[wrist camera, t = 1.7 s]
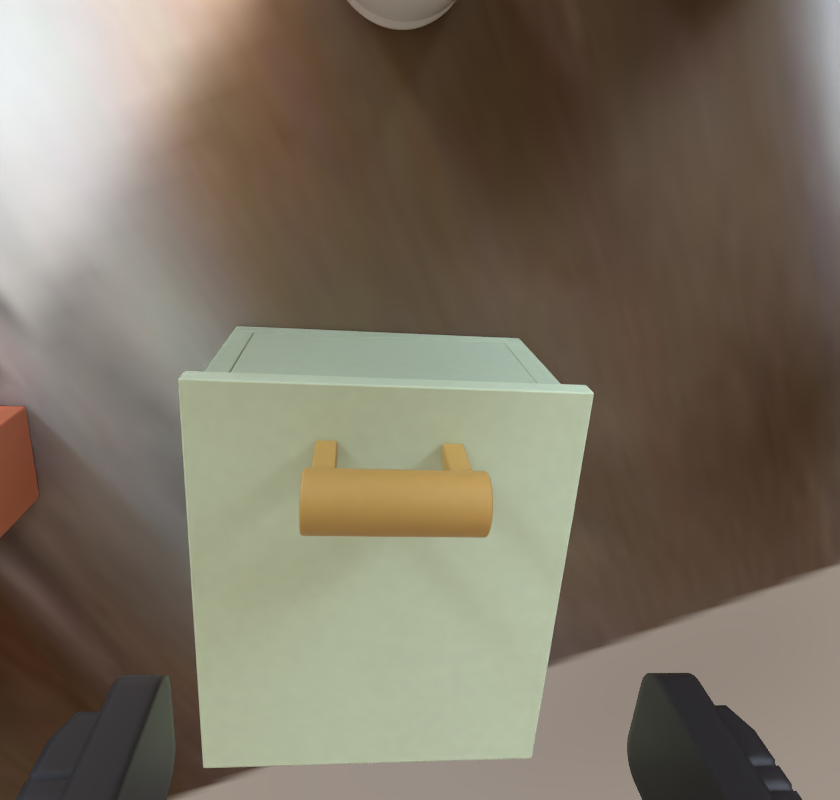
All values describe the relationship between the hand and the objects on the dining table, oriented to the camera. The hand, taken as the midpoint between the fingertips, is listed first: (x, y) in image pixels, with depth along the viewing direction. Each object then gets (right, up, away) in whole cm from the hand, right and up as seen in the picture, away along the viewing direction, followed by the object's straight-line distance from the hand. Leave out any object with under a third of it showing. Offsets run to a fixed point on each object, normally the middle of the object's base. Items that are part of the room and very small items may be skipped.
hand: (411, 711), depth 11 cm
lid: (-1, -1, +12) cm, 12 cm away
